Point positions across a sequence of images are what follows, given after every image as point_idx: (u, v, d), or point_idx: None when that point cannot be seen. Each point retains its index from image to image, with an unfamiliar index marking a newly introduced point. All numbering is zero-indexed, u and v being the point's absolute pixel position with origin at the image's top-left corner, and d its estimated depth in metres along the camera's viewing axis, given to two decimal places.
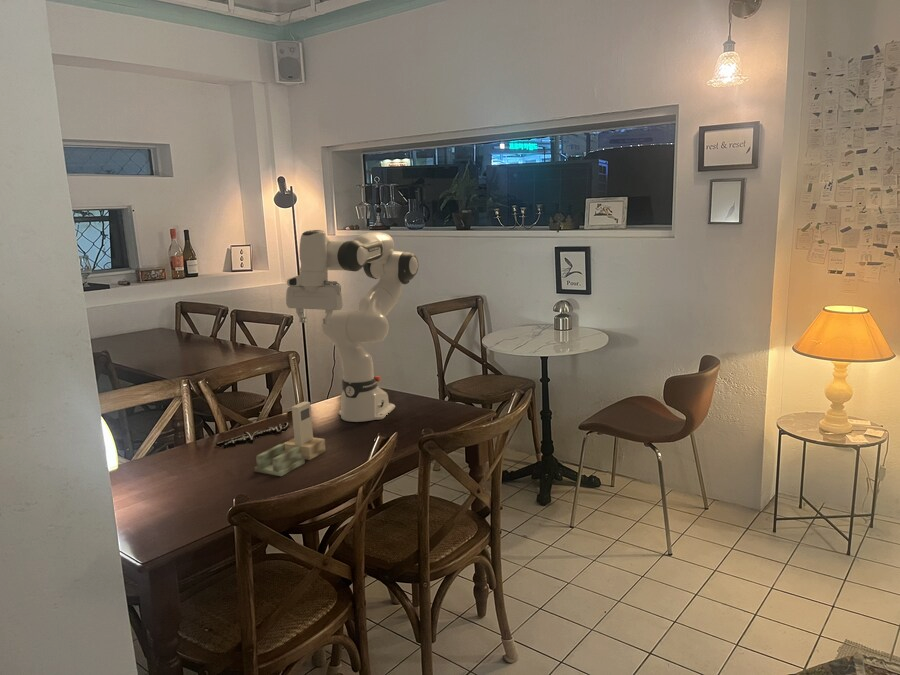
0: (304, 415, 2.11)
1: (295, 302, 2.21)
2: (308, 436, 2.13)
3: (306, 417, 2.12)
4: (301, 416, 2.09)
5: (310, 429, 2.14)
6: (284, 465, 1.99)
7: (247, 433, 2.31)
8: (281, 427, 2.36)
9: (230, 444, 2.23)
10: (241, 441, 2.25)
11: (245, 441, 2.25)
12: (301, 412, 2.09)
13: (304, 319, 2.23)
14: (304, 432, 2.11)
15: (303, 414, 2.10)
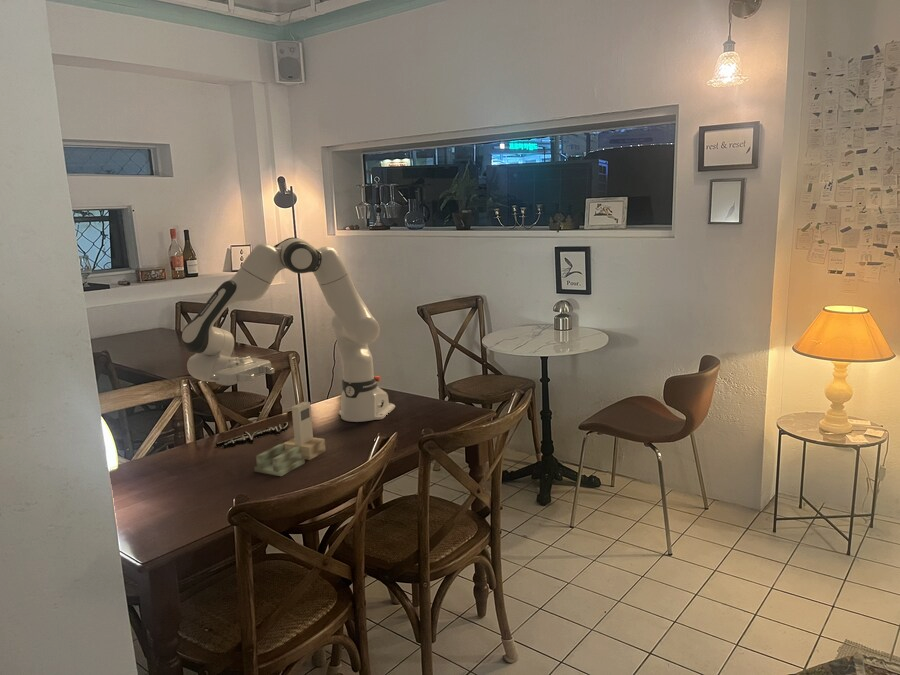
0: (304, 415, 2.11)
1: None
2: (308, 436, 2.13)
3: (306, 417, 2.12)
4: (301, 416, 2.09)
5: (310, 429, 2.14)
6: (284, 465, 1.99)
7: (247, 433, 2.31)
8: (281, 427, 2.36)
9: (230, 444, 2.23)
10: (241, 441, 2.25)
11: (245, 441, 2.25)
12: (301, 412, 2.09)
13: (269, 371, 2.19)
14: (304, 432, 2.11)
15: (303, 414, 2.10)
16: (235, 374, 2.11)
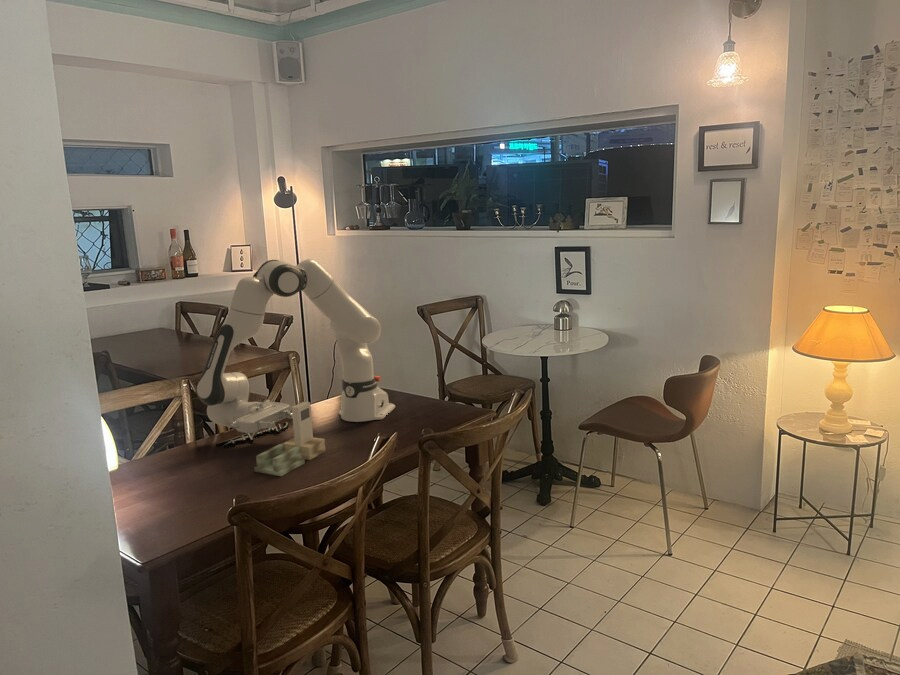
0: (304, 415, 2.11)
1: None
2: (308, 436, 2.13)
3: (306, 417, 2.12)
4: (301, 416, 2.09)
5: (310, 429, 2.14)
6: (284, 465, 1.99)
7: (247, 433, 2.31)
8: (280, 427, 2.36)
9: (230, 444, 2.23)
10: (241, 442, 2.25)
11: (245, 441, 2.25)
12: (301, 412, 2.09)
13: (289, 416, 2.19)
14: (304, 432, 2.11)
15: (303, 414, 2.10)
16: (256, 422, 2.11)
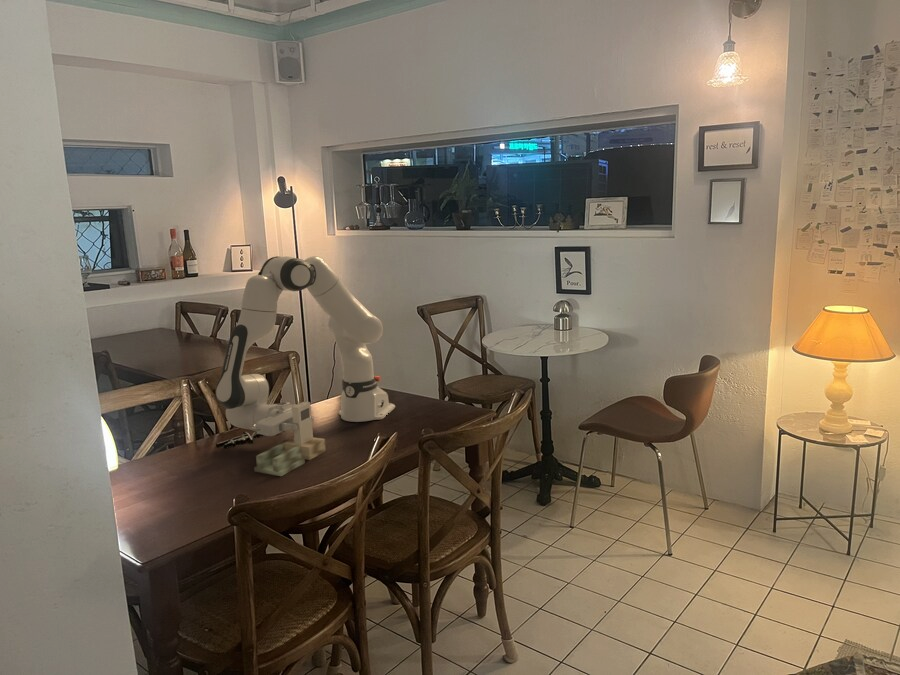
0: (304, 415, 2.11)
1: None
2: (308, 436, 2.13)
3: (306, 417, 2.12)
4: (301, 416, 2.09)
5: (310, 429, 2.14)
6: (284, 465, 1.99)
7: (246, 433, 2.31)
8: None
9: (230, 444, 2.23)
10: (241, 442, 2.25)
11: (245, 441, 2.25)
12: (301, 412, 2.09)
13: None
14: (304, 432, 2.11)
15: (303, 414, 2.10)
16: (277, 424, 2.07)
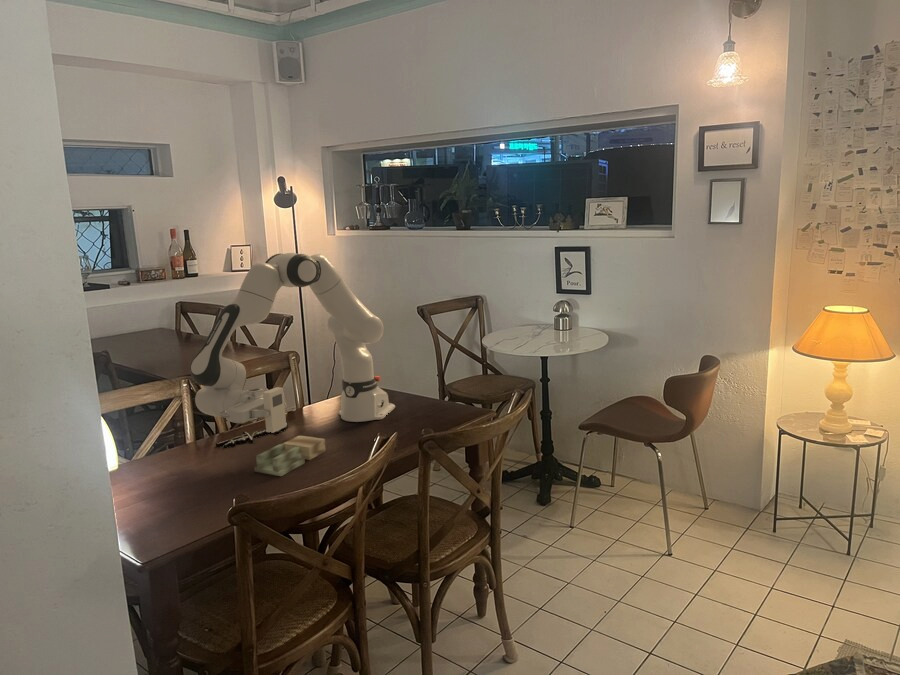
0: (277, 401, 1.99)
1: None
2: (281, 424, 2.01)
3: (279, 403, 2.00)
4: (273, 402, 1.97)
5: (283, 416, 2.02)
6: (284, 465, 1.99)
7: (246, 433, 2.31)
8: None
9: (230, 444, 2.22)
10: (241, 442, 2.25)
11: (245, 441, 2.25)
12: (273, 398, 1.97)
13: None
14: (276, 419, 1.99)
15: (275, 400, 1.98)
16: (247, 411, 1.95)
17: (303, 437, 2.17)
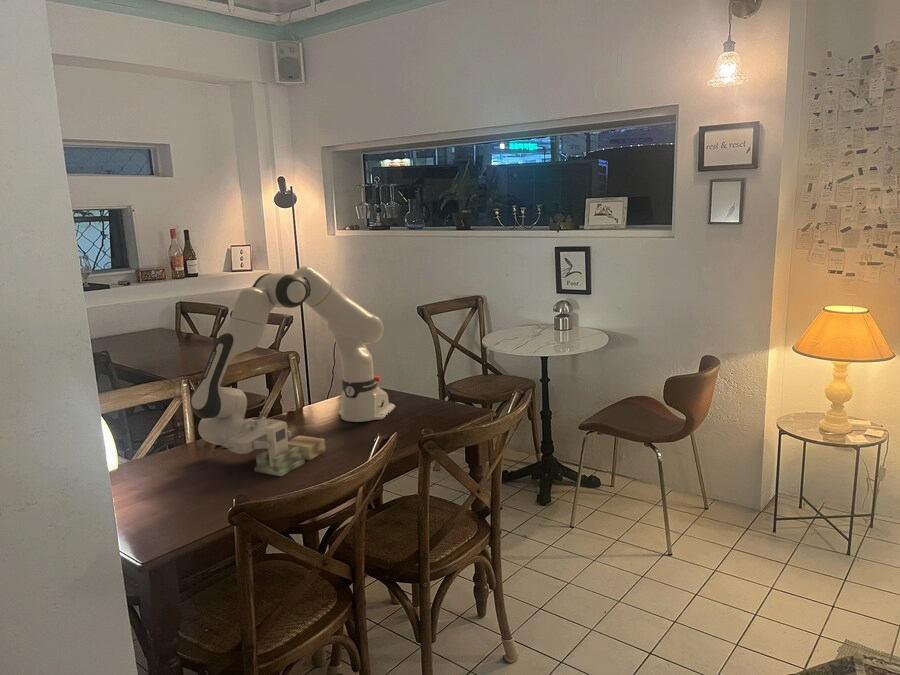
0: (280, 436, 2.01)
1: None
2: None
3: (282, 438, 2.02)
4: (276, 437, 1.99)
5: (286, 450, 2.04)
6: (284, 465, 1.99)
7: None
8: None
9: None
10: None
11: None
12: (276, 433, 1.99)
13: None
14: None
15: (278, 435, 2.00)
16: (250, 441, 1.97)
17: (303, 437, 2.17)
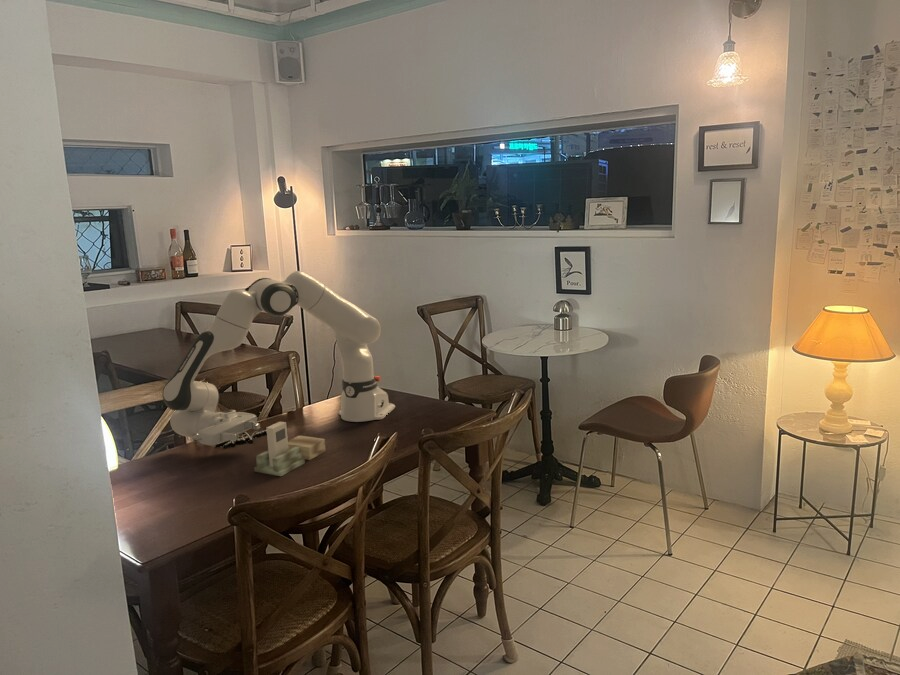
0: (280, 436, 2.01)
1: None
2: None
3: (282, 438, 2.02)
4: (276, 437, 1.99)
5: (286, 450, 2.04)
6: (284, 465, 1.99)
7: (246, 433, 2.31)
8: None
9: (230, 444, 2.22)
10: (241, 442, 2.25)
11: (245, 441, 2.25)
12: (276, 433, 1.99)
13: (254, 427, 2.12)
14: None
15: (278, 435, 2.00)
16: (218, 433, 2.03)
17: (303, 437, 2.17)
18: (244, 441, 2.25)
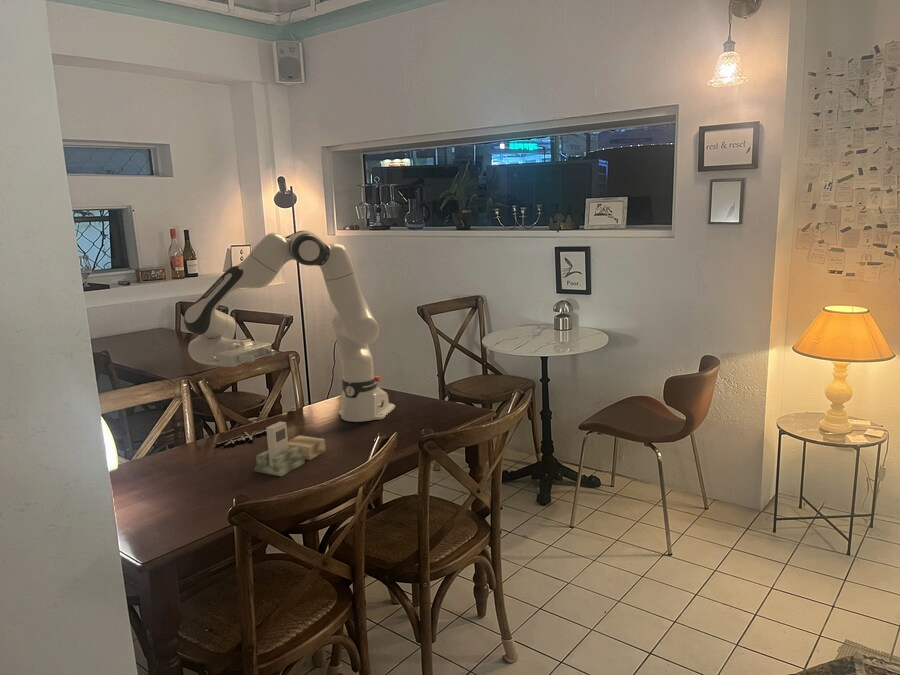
0: (280, 436, 2.01)
1: None
2: None
3: (282, 438, 2.02)
4: (276, 437, 1.99)
5: (286, 450, 2.04)
6: (284, 465, 1.99)
7: (246, 433, 2.31)
8: None
9: (230, 444, 2.22)
10: (241, 442, 2.25)
11: (245, 441, 2.25)
12: (276, 433, 1.99)
13: (269, 352, 2.20)
14: None
15: (278, 435, 2.00)
16: (235, 355, 2.12)
17: (303, 437, 2.17)
18: (244, 441, 2.25)
